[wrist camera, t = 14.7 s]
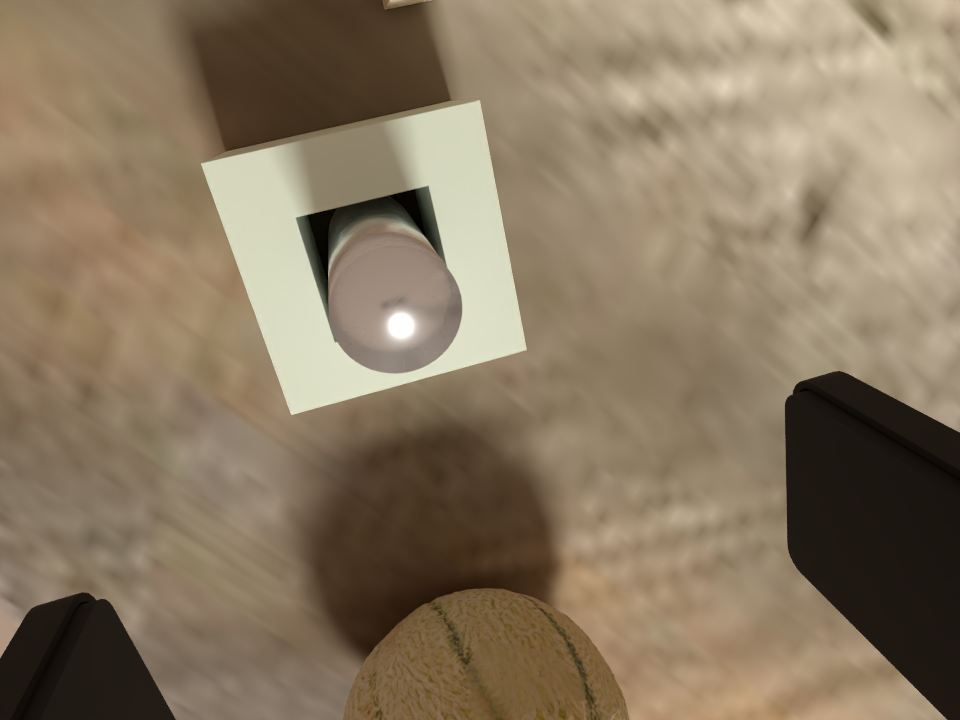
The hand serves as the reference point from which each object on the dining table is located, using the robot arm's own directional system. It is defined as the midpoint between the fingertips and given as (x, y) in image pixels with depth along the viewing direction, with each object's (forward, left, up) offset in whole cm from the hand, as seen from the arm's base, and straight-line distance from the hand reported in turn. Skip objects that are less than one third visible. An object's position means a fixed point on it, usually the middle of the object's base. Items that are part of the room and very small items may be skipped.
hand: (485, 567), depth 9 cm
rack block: (0, 0, -24) cm, 24 cm away
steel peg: (0, 0, -24) cm, 24 cm away
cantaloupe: (+1, +25, -24) cm, 35 cm away
